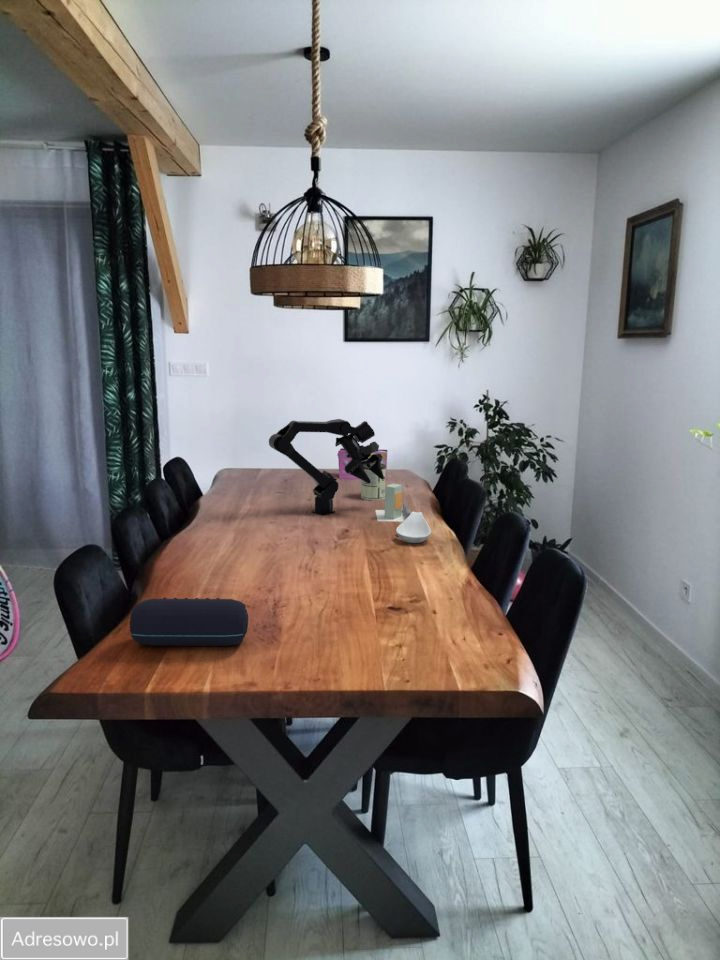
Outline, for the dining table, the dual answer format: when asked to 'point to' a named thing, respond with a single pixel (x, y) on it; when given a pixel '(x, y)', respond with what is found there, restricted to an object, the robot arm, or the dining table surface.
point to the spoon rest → (414, 528)
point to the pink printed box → (345, 460)
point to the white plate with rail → (404, 515)
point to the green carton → (393, 501)
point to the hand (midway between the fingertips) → (376, 480)
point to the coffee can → (373, 485)
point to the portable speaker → (189, 622)
